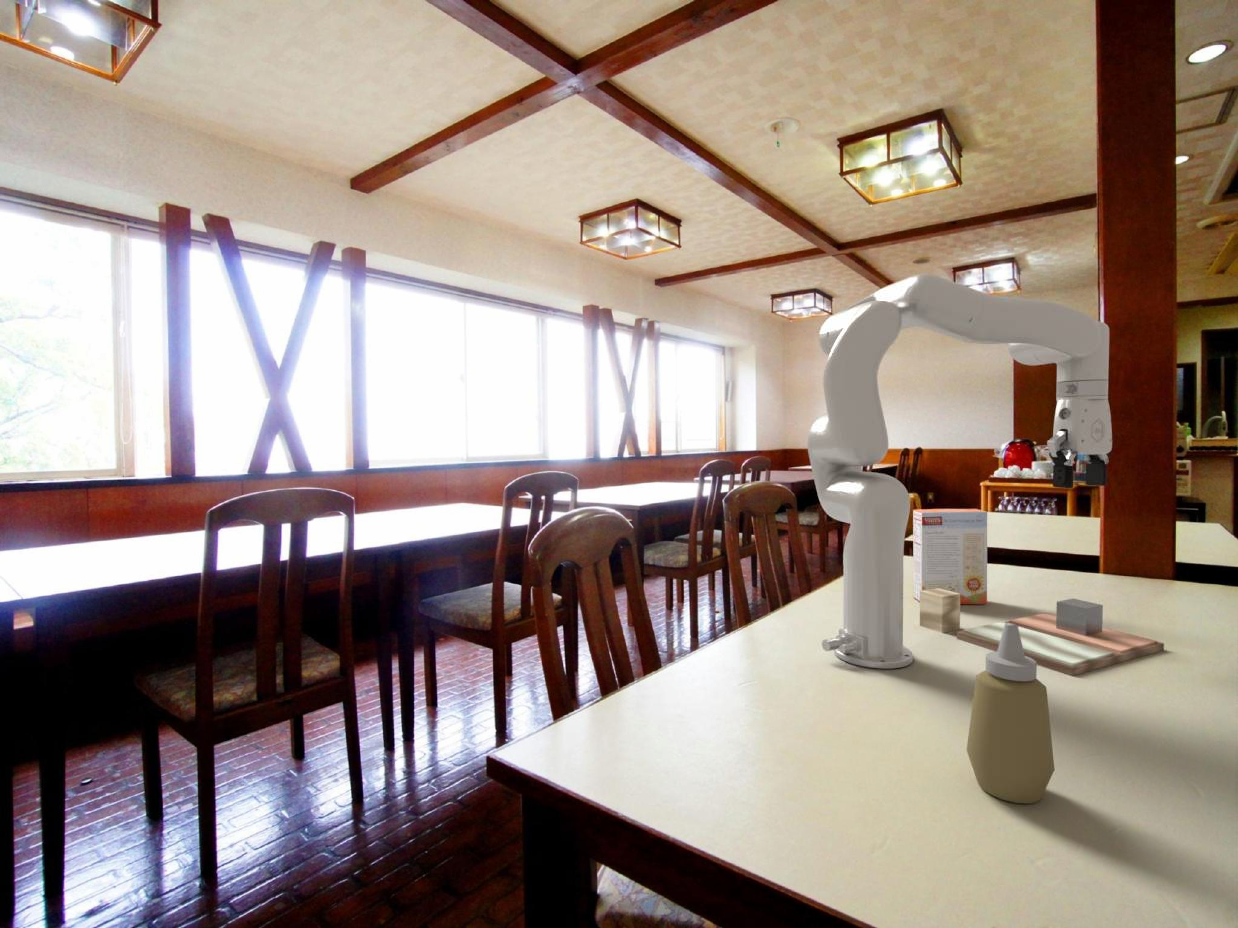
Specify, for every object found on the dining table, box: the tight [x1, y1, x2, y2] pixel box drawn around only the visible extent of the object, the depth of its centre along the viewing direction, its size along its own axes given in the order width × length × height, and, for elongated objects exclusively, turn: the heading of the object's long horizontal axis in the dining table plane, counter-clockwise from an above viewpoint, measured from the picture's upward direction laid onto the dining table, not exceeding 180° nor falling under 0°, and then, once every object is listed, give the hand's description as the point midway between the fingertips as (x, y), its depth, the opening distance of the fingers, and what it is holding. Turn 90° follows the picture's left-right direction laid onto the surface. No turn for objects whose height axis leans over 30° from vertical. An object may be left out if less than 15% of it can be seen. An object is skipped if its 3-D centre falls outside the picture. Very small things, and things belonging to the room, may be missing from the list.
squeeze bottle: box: [966, 623, 1055, 805], centre depth 67 cm, size 8×8×18 cm
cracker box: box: [912, 508, 988, 605], centre depth 140 cm, size 14×6×21 cm, turn 84°
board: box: [956, 612, 1165, 677], centre depth 112 cm, size 26×20×2 cm
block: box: [919, 588, 961, 634], centre depth 122 cm, size 5×5×7 cm
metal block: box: [1055, 598, 1104, 636], centre depth 114 cm, size 5×5×5 cm
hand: (1079, 486), depth 113 cm, fingers open, 9 cm apart
